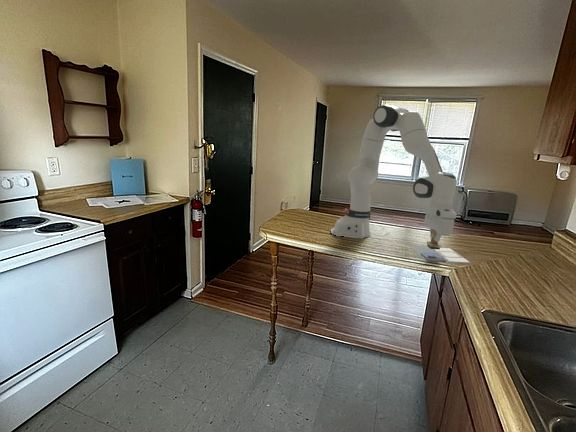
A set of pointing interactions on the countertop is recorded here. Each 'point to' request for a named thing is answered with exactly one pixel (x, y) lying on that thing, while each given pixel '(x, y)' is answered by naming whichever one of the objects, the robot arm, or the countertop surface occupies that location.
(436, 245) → the stamp
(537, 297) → the countertop surface
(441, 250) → the stamping board
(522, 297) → the countertop surface
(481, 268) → the countertop surface
